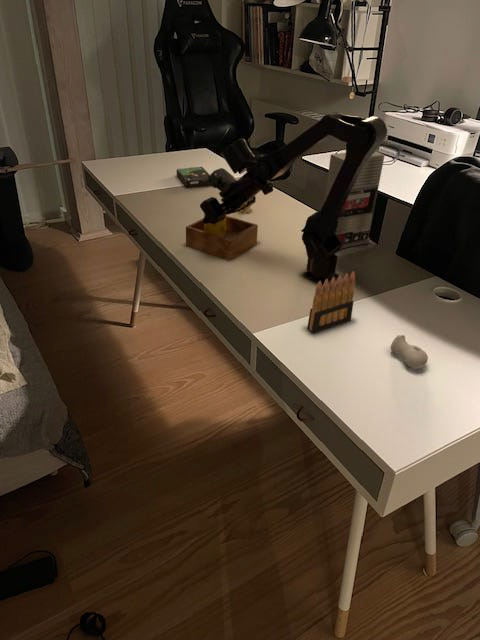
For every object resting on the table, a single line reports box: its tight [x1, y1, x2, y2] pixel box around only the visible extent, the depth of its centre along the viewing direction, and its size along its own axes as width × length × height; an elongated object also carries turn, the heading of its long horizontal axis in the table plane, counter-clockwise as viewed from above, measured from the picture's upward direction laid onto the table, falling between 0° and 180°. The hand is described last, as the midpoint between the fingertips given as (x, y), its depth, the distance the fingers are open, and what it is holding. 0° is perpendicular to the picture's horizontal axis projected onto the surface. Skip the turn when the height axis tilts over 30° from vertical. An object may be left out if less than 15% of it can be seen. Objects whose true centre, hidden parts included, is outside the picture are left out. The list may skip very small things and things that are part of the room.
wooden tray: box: [185, 215, 259, 261], centre depth 139 cm, size 15×14×6 cm
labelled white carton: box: [323, 150, 386, 249], centre depth 137 cm, size 14×6×25 cm, turn 117°
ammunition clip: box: [306, 270, 356, 334], centre depth 105 cm, size 11×2×12 cm, turn 121°
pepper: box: [203, 208, 226, 237], centre depth 138 cm, size 6×6×9 cm
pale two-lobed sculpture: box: [390, 334, 429, 370], centre depth 98 cm, size 4×8×5 cm
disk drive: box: [175, 166, 211, 188], centre depth 185 cm, size 10×3×15 cm
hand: (211, 218), depth 139 cm, fingers closed on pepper, 6 cm apart
